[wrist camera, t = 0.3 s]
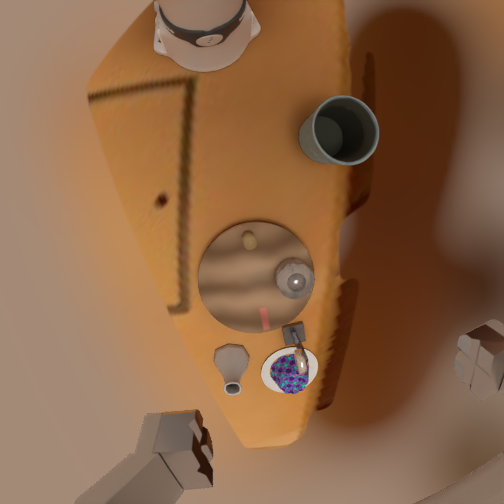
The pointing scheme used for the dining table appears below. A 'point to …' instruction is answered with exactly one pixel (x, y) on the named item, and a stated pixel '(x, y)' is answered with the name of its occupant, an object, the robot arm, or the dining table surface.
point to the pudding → (288, 372)
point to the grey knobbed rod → (296, 344)
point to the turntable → (250, 277)
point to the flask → (231, 366)
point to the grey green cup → (340, 132)
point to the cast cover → (294, 278)
